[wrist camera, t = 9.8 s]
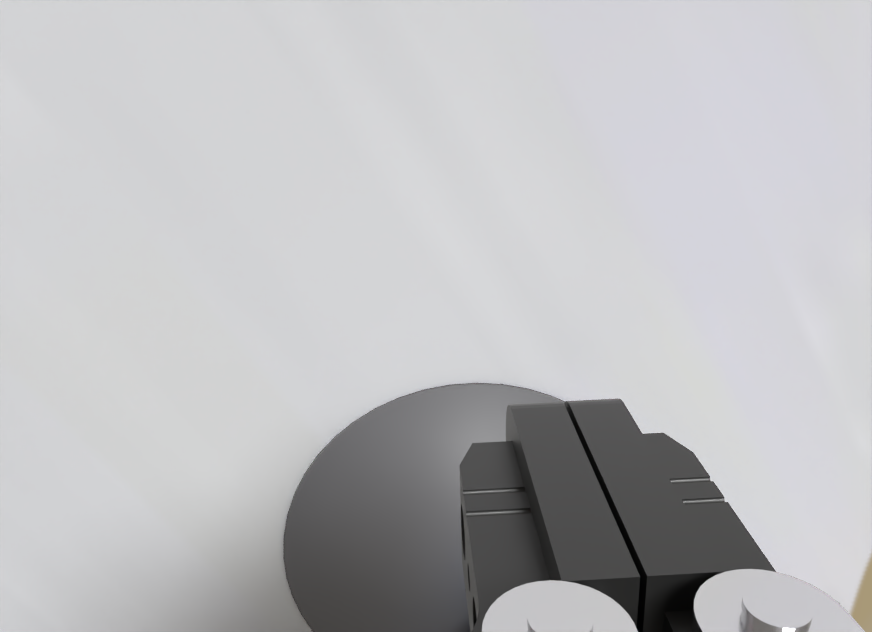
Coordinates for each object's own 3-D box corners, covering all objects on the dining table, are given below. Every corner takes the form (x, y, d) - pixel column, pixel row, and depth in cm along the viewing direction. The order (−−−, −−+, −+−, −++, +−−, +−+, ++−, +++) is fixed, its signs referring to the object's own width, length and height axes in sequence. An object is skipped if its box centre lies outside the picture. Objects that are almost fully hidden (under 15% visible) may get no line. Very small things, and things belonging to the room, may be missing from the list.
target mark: (434, 743, 32) (434, 747, 32) (205, 526, 28) (203, 529, 28) (720, 572, 30) (722, 576, 30) (517, 306, 26) (517, 308, 25)
